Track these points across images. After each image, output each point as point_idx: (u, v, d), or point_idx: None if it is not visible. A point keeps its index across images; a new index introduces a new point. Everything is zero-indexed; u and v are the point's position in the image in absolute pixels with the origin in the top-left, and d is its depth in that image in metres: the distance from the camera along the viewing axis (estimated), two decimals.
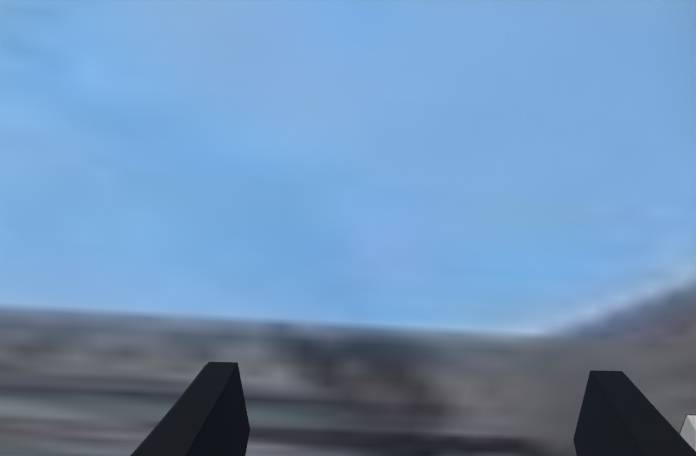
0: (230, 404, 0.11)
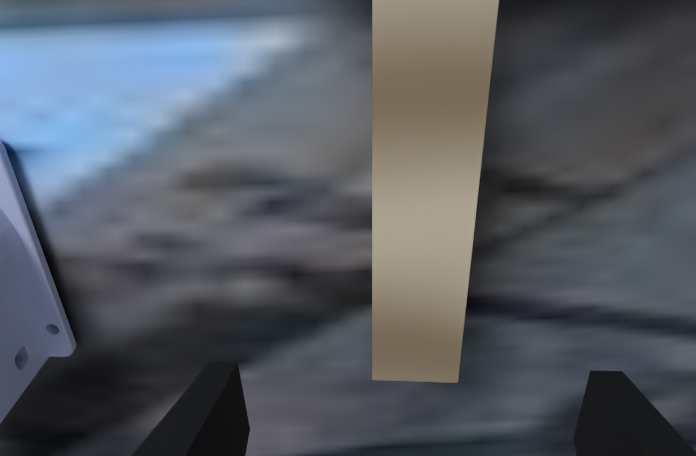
0: (230, 404, 0.11)
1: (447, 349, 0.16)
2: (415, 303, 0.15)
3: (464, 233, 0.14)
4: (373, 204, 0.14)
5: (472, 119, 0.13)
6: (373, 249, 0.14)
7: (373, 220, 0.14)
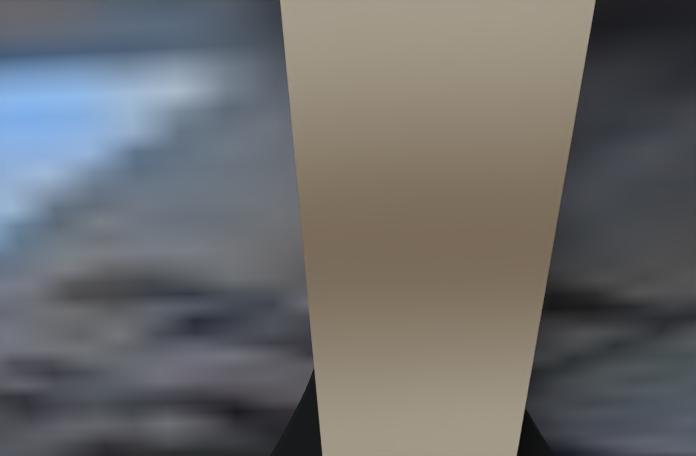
0: None
1: None
2: None
3: None
4: (321, 424, 0.07)
5: (516, 289, 0.06)
6: None
7: (323, 448, 0.07)
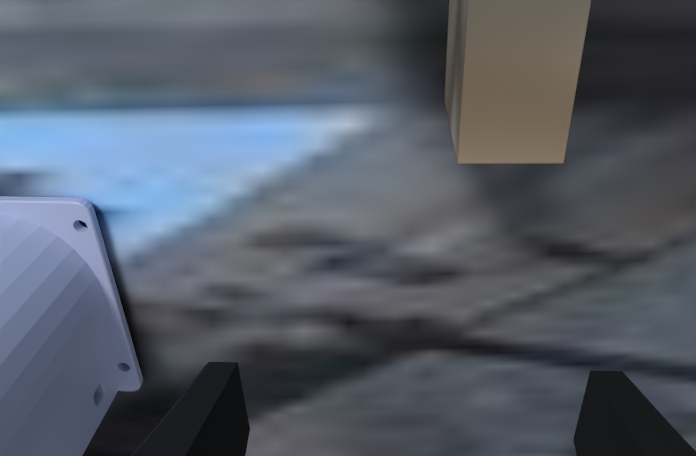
0: (230, 404, 0.11)
1: (554, 111, 0.13)
2: (520, 41, 0.12)
3: None
4: None
5: None
6: None
7: None
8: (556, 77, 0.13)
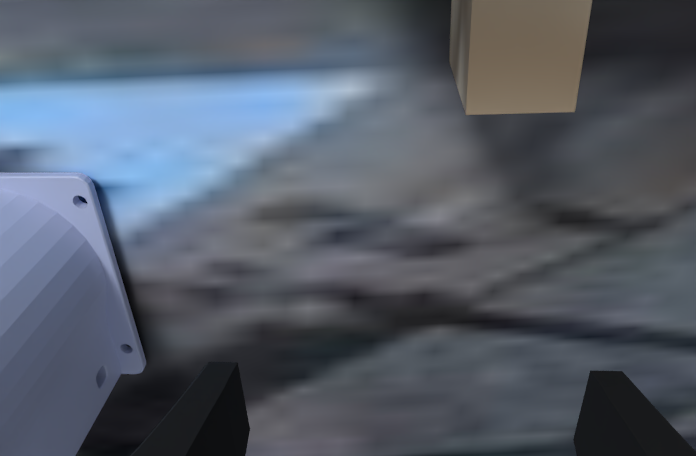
0: (230, 404, 0.11)
1: (565, 56, 0.13)
2: None
3: None
4: None
5: None
6: None
7: None
8: (567, 19, 0.12)
